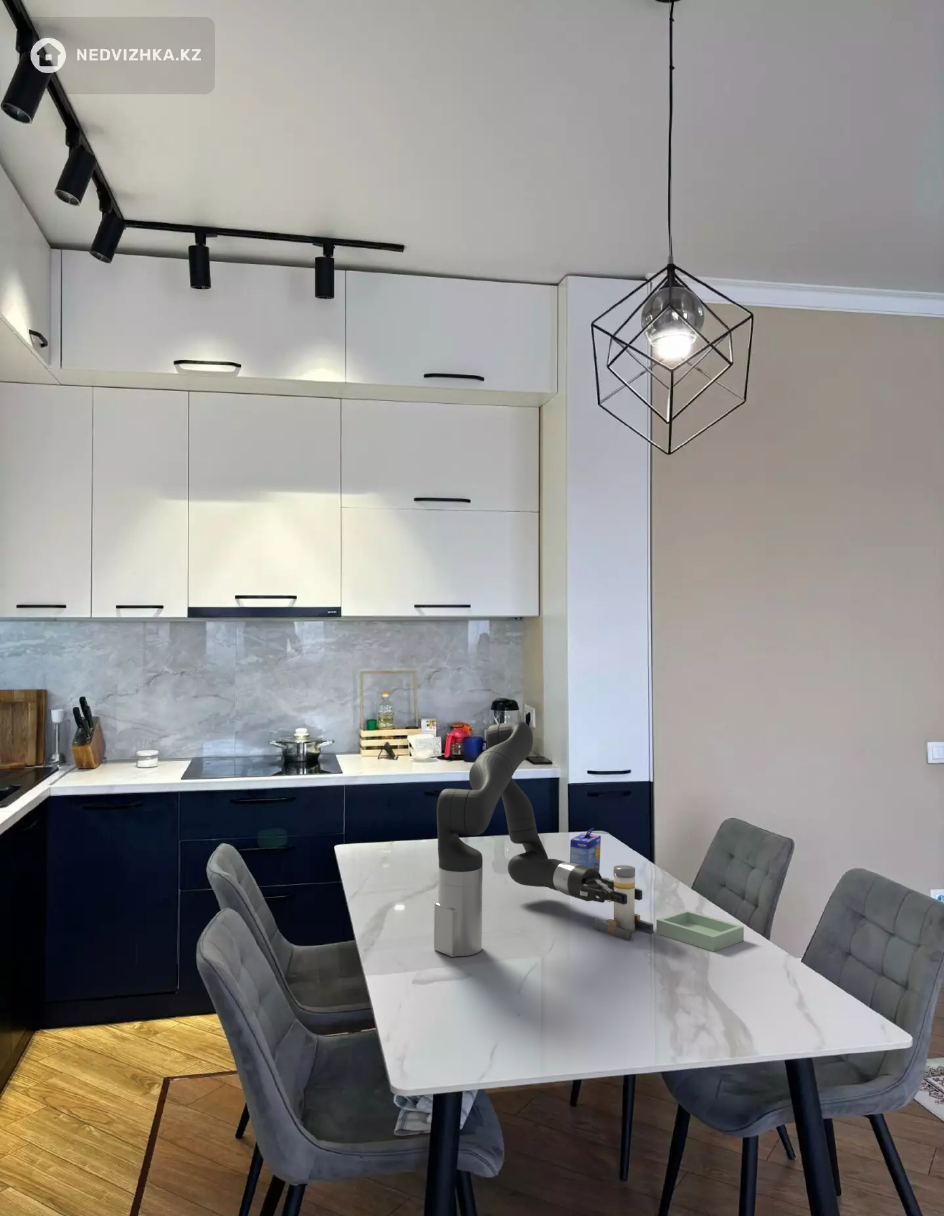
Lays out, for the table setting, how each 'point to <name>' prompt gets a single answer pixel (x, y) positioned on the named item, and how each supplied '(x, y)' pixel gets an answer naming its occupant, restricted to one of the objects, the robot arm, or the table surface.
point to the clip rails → (616, 930)
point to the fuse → (626, 885)
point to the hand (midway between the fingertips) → (633, 897)
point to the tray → (700, 930)
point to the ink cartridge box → (586, 850)
